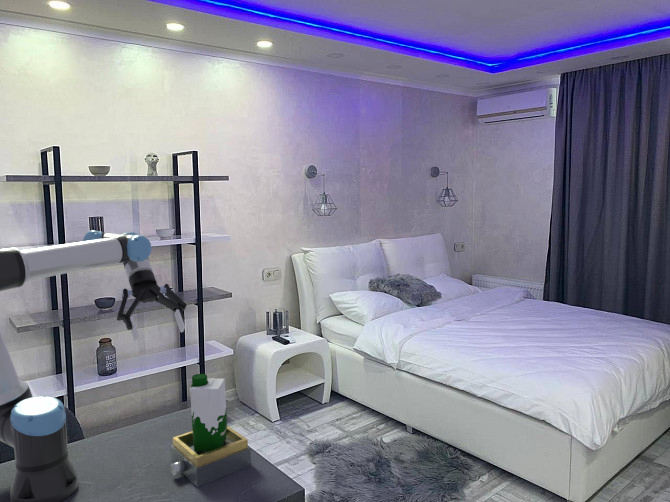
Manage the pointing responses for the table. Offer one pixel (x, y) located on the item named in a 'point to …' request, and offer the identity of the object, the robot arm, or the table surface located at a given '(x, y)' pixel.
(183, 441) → the wooden rimmed tray
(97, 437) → the table surface
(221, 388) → the soya milk
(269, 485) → the table surface
